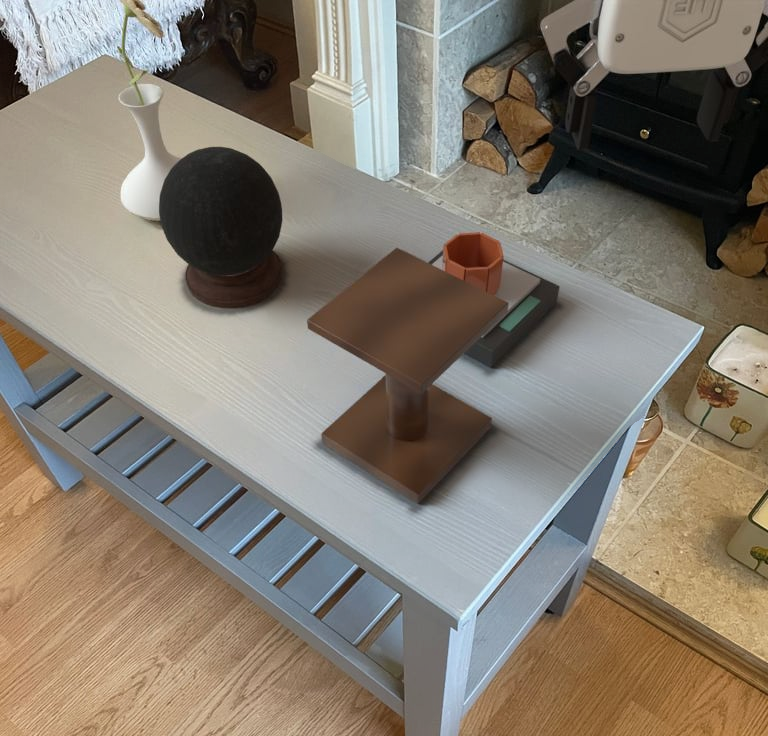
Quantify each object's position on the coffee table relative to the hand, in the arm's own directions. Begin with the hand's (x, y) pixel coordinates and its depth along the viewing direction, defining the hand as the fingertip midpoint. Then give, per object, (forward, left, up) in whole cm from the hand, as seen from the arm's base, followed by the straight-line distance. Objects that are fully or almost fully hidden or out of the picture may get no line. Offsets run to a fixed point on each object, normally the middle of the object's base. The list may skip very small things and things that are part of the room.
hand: (642, 135), depth 60 cm
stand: (+18, +4, -28) cm, 33 cm away
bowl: (+9, -14, -25) cm, 30 cm away
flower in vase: (+45, -38, -28) cm, 65 cm away
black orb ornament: (+36, -22, -28) cm, 50 cm away
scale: (+9, -14, -28) cm, 32 cm away
